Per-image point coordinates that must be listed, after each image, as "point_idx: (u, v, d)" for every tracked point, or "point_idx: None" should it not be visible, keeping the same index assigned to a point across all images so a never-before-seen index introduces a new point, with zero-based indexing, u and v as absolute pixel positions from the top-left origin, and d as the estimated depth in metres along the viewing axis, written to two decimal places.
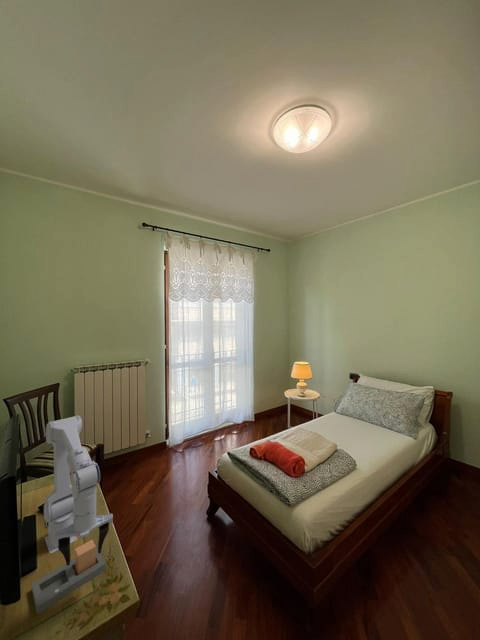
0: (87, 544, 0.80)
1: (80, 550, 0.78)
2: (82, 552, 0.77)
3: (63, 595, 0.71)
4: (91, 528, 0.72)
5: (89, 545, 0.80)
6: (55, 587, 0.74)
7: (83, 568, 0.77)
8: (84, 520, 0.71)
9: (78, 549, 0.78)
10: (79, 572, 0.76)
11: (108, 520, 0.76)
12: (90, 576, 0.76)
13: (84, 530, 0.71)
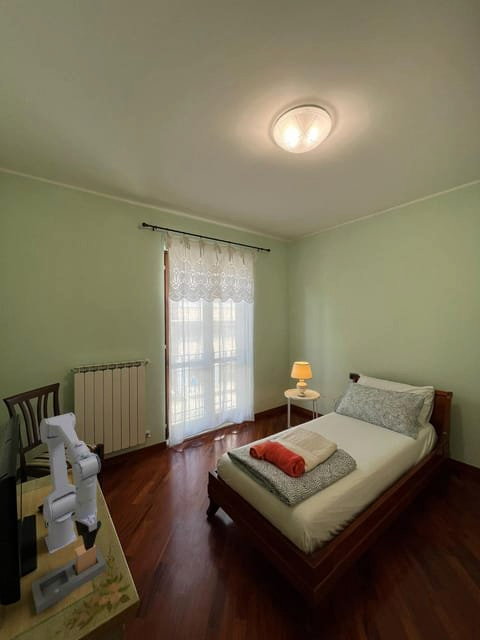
0: None
1: (80, 550, 0.78)
2: (82, 552, 0.77)
3: (63, 595, 0.71)
4: (78, 518, 0.76)
5: None
6: (55, 587, 0.74)
7: (83, 568, 0.77)
8: (75, 505, 0.77)
9: (78, 549, 0.78)
10: (79, 572, 0.76)
11: (88, 524, 0.74)
12: (90, 576, 0.76)
13: (75, 515, 0.77)
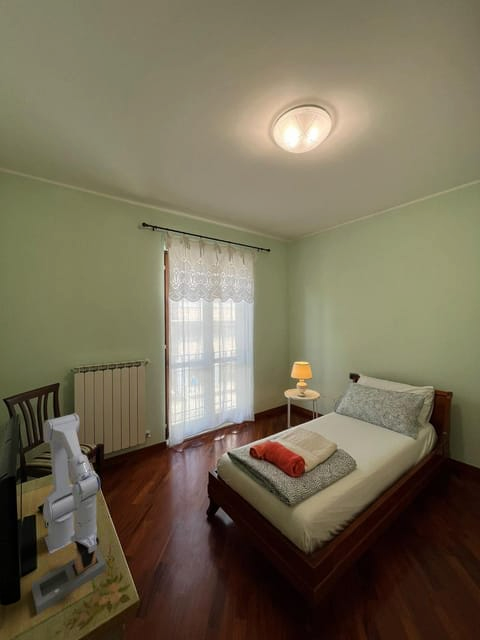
0: None
1: None
2: None
3: (63, 595, 0.71)
4: (78, 539, 0.76)
5: None
6: (55, 587, 0.74)
7: (83, 568, 0.77)
8: (75, 526, 0.77)
9: None
10: (79, 572, 0.76)
11: (87, 546, 0.74)
12: (90, 576, 0.76)
13: (75, 535, 0.77)
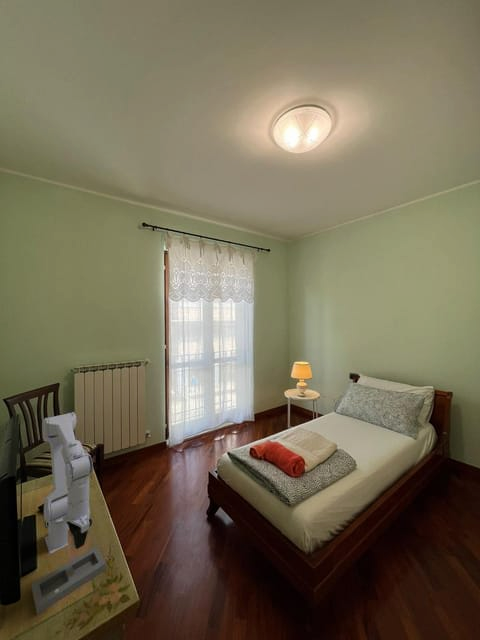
0: None
1: None
2: None
3: (63, 595, 0.71)
4: (70, 519, 0.75)
5: None
6: (55, 587, 0.74)
7: (75, 549, 0.76)
8: (67, 506, 0.76)
9: None
10: (72, 553, 0.75)
11: (80, 526, 0.73)
12: (90, 576, 0.76)
13: (67, 516, 0.76)
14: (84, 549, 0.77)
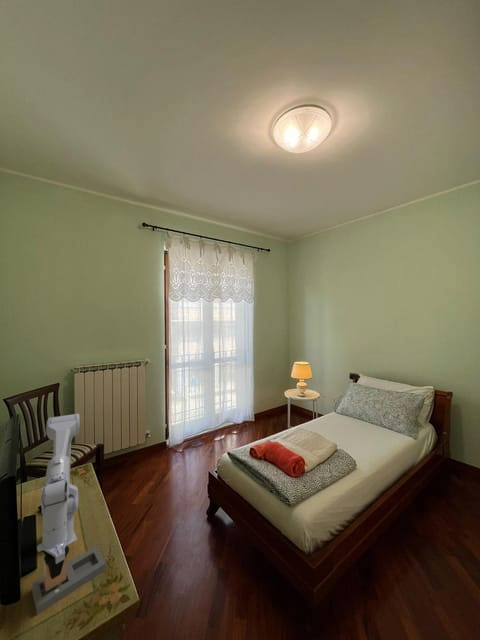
0: None
1: None
2: None
3: (63, 595, 0.71)
4: (45, 548, 0.71)
5: None
6: (55, 587, 0.74)
7: (51, 579, 0.71)
8: None
9: None
10: (47, 583, 0.71)
11: (54, 556, 0.69)
12: (90, 576, 0.76)
13: (42, 544, 0.71)
14: (61, 578, 0.73)
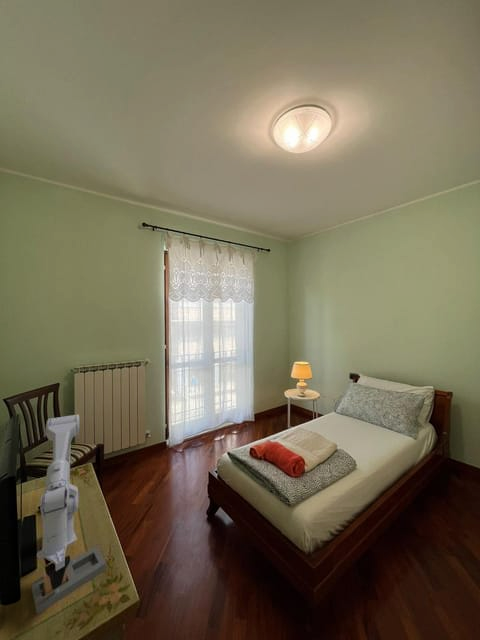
0: None
1: None
2: None
3: (63, 595, 0.71)
4: (45, 555, 0.70)
5: None
6: None
7: (51, 587, 0.71)
8: None
9: None
10: (47, 592, 0.71)
11: (54, 563, 0.68)
12: (90, 576, 0.76)
13: (42, 550, 0.71)
14: None
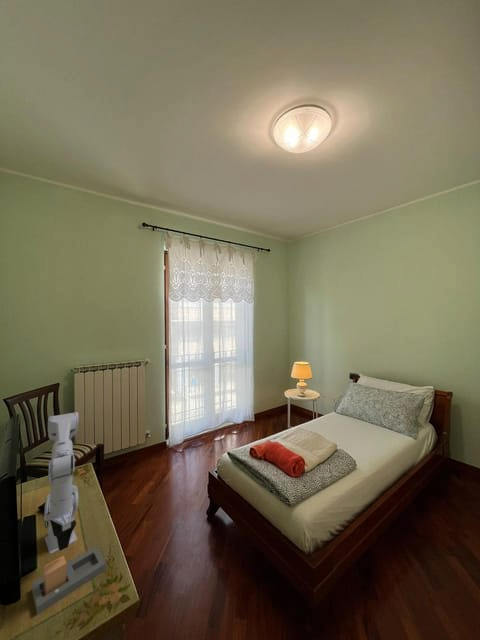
0: (57, 561, 0.75)
1: (49, 568, 0.72)
2: (51, 570, 0.72)
3: (63, 595, 0.71)
4: (52, 518, 0.76)
5: (59, 562, 0.74)
6: None
7: (51, 587, 0.71)
8: (50, 505, 0.77)
9: (47, 567, 0.73)
10: (47, 592, 0.71)
11: (61, 524, 0.74)
12: (90, 576, 0.76)
13: (49, 514, 0.77)
14: None
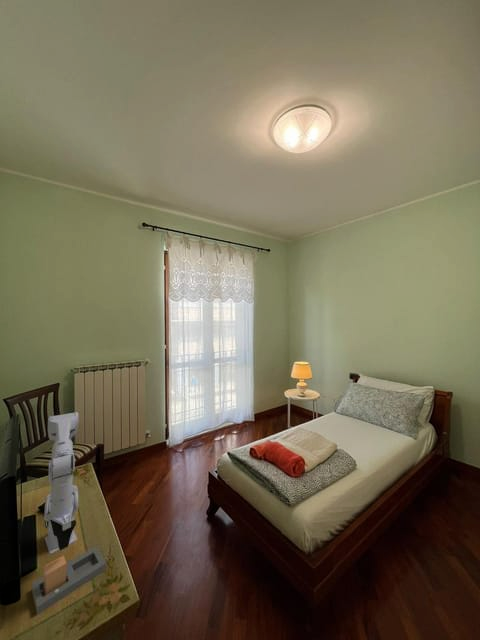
0: (57, 561, 0.75)
1: (49, 568, 0.72)
2: (51, 570, 0.72)
3: (63, 595, 0.71)
4: (52, 517, 0.76)
5: (59, 562, 0.74)
6: None
7: (51, 587, 0.71)
8: (50, 504, 0.77)
9: (47, 567, 0.73)
10: (47, 592, 0.71)
11: (61, 523, 0.74)
12: (90, 576, 0.76)
13: (50, 514, 0.77)
14: None
